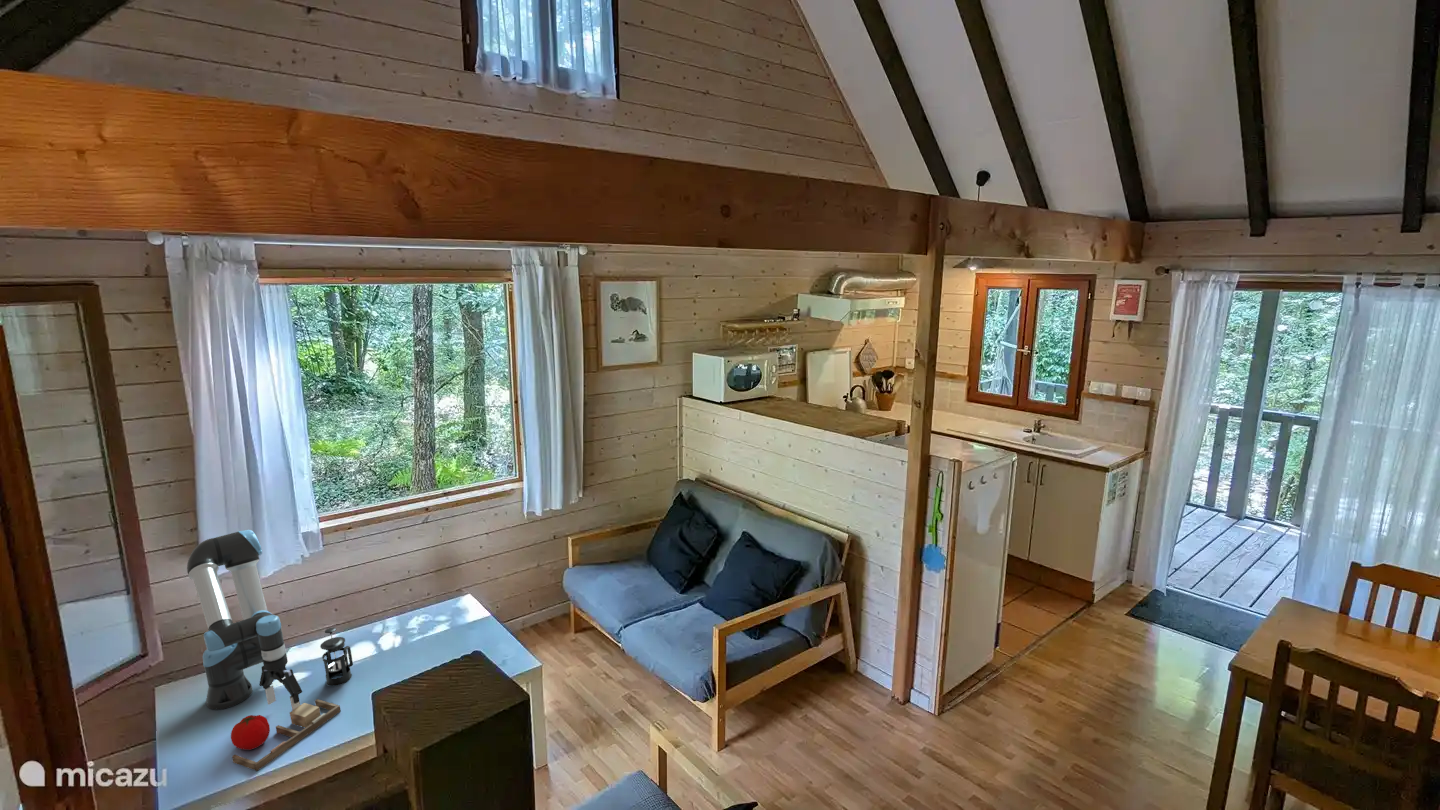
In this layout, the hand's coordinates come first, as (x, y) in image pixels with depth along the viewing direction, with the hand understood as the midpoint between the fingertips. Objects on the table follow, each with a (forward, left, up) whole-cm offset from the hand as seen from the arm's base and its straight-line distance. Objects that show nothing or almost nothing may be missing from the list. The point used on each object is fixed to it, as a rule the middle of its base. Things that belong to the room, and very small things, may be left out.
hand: (284, 706), depth 261 cm
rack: (+12, -8, -4) cm, 15 cm away
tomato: (+4, -16, -4) cm, 17 cm away
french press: (0, +24, -4) cm, 24 cm away
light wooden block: (+11, 0, -4) cm, 12 cm away
